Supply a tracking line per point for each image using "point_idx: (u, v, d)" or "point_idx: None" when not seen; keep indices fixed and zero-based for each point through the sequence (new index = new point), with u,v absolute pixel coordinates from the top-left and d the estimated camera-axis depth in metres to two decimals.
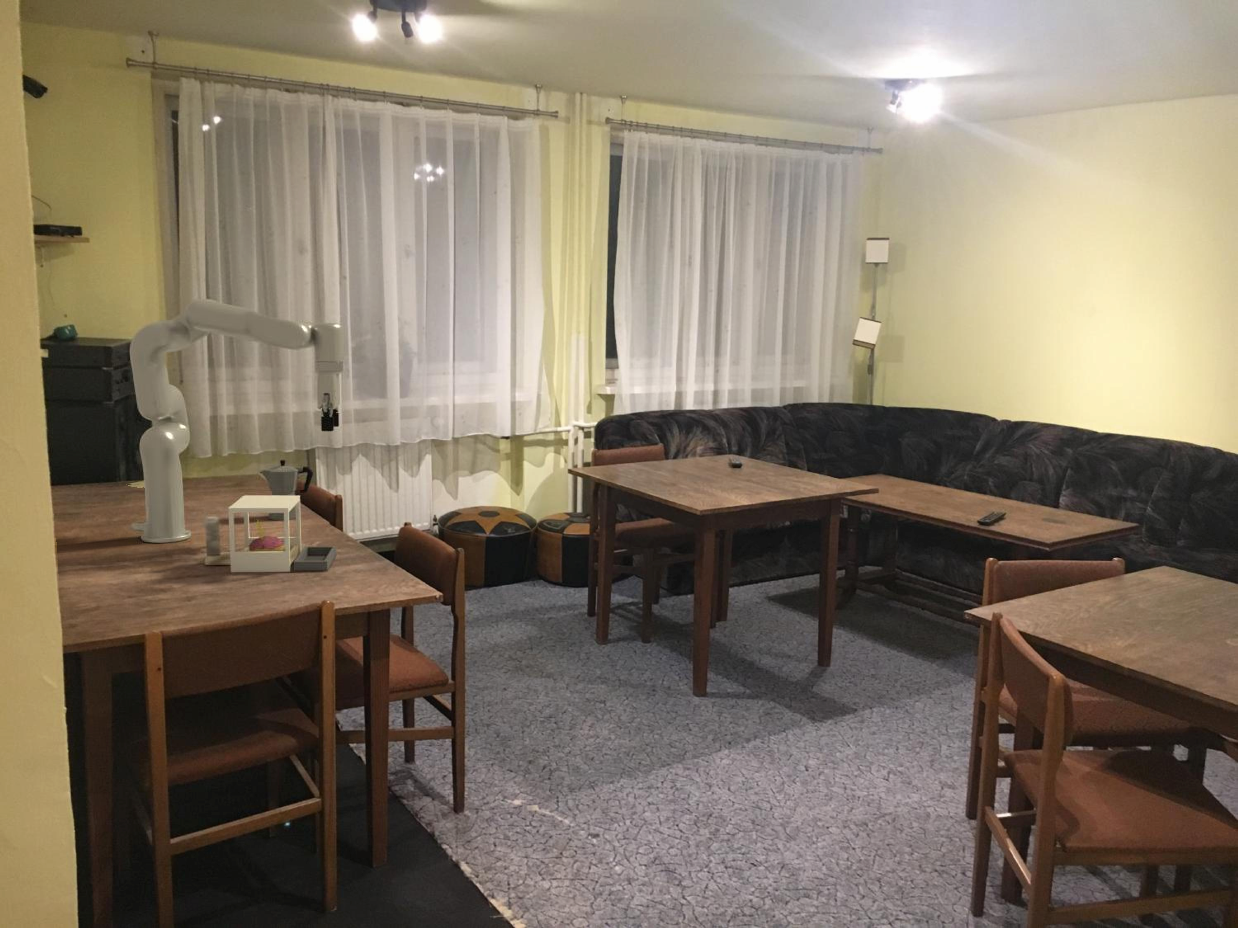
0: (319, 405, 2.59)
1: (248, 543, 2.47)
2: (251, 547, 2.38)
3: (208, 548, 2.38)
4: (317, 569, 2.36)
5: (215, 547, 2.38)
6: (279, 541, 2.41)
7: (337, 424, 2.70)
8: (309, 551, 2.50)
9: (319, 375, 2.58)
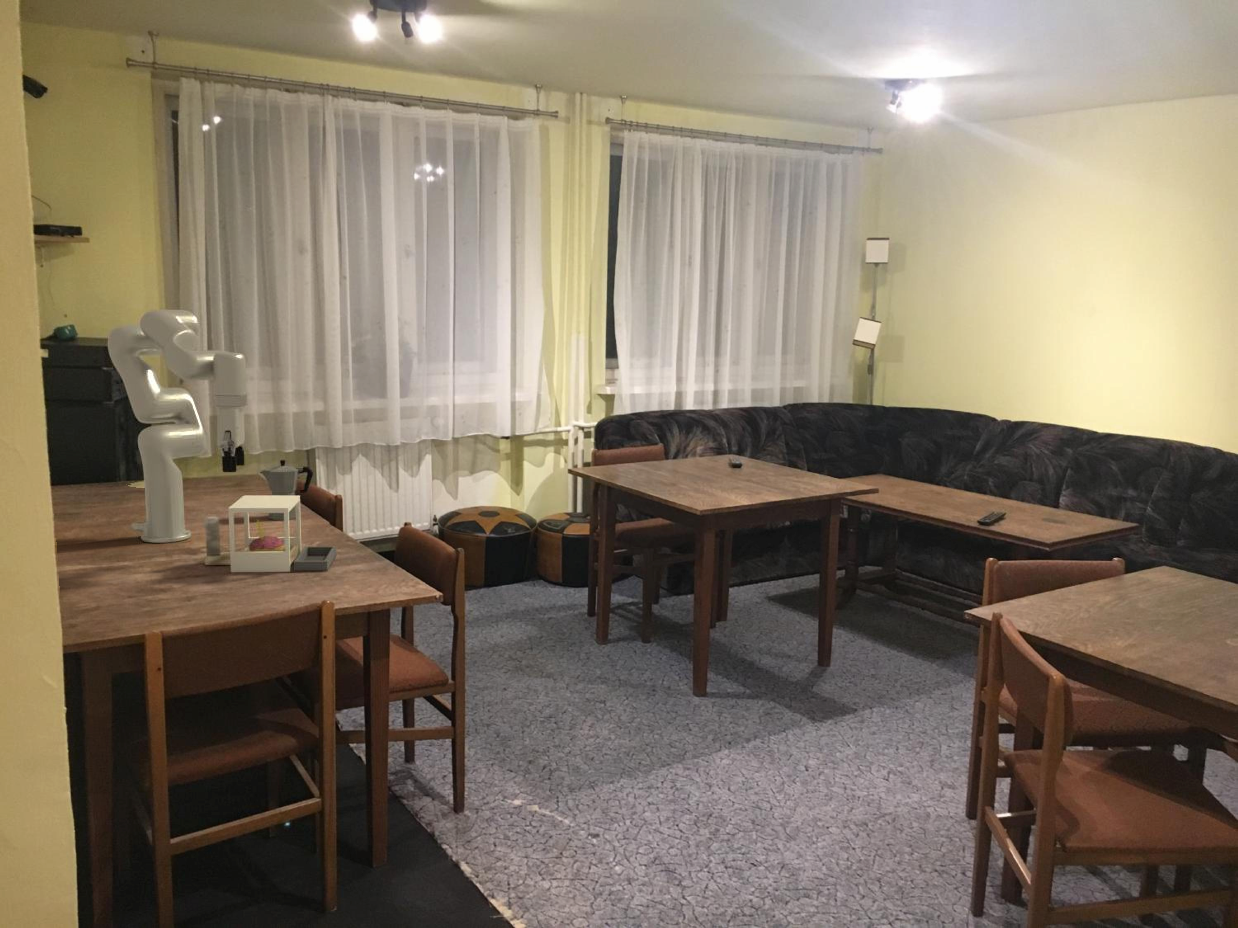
0: (220, 444, 2.35)
1: (248, 543, 2.47)
2: (251, 547, 2.38)
3: (208, 548, 2.38)
4: (317, 569, 2.36)
5: (215, 547, 2.38)
6: (279, 541, 2.41)
7: (242, 463, 2.46)
8: (309, 551, 2.50)
9: (219, 411, 2.34)
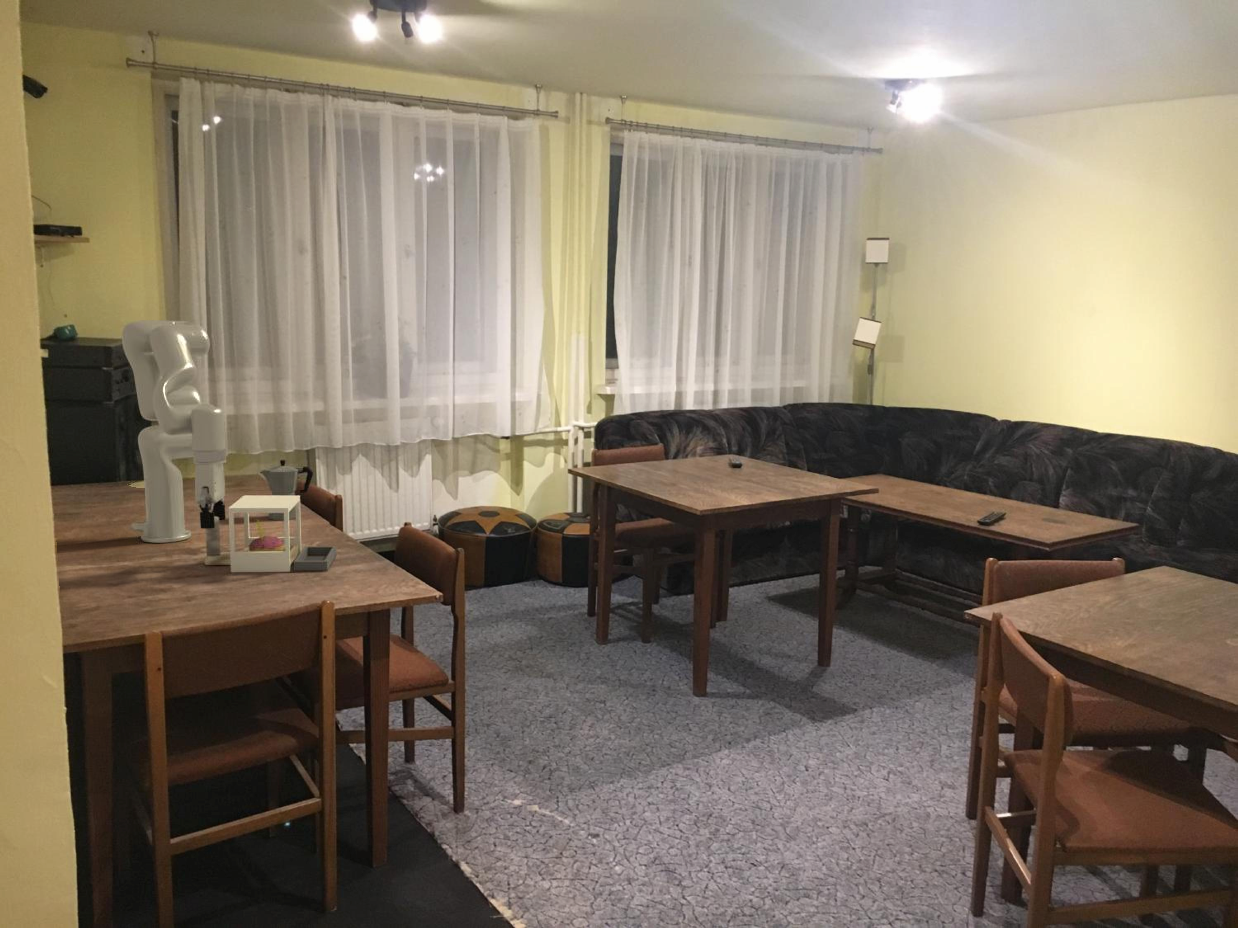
0: (197, 500, 2.32)
1: (248, 543, 2.47)
2: (251, 547, 2.38)
3: (208, 548, 2.38)
4: (317, 569, 2.36)
5: (215, 547, 2.38)
6: (279, 541, 2.41)
7: (223, 517, 2.42)
8: (309, 551, 2.50)
9: (197, 466, 2.31)
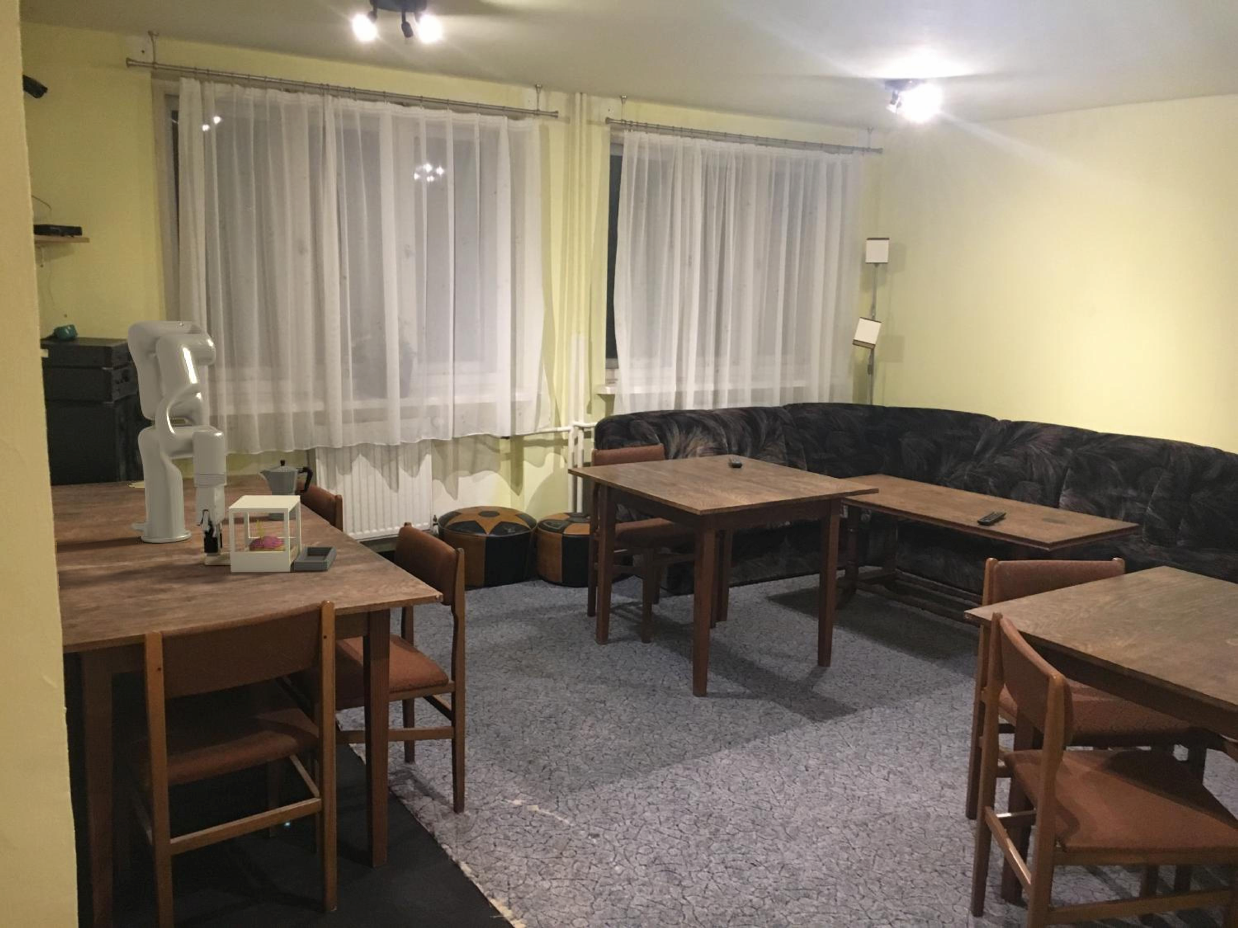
0: (198, 522, 2.33)
1: (248, 543, 2.47)
2: (251, 547, 2.38)
3: None
4: (317, 569, 2.36)
5: None
6: (279, 541, 2.41)
7: (220, 546, 2.41)
8: (309, 551, 2.50)
9: (197, 489, 2.32)
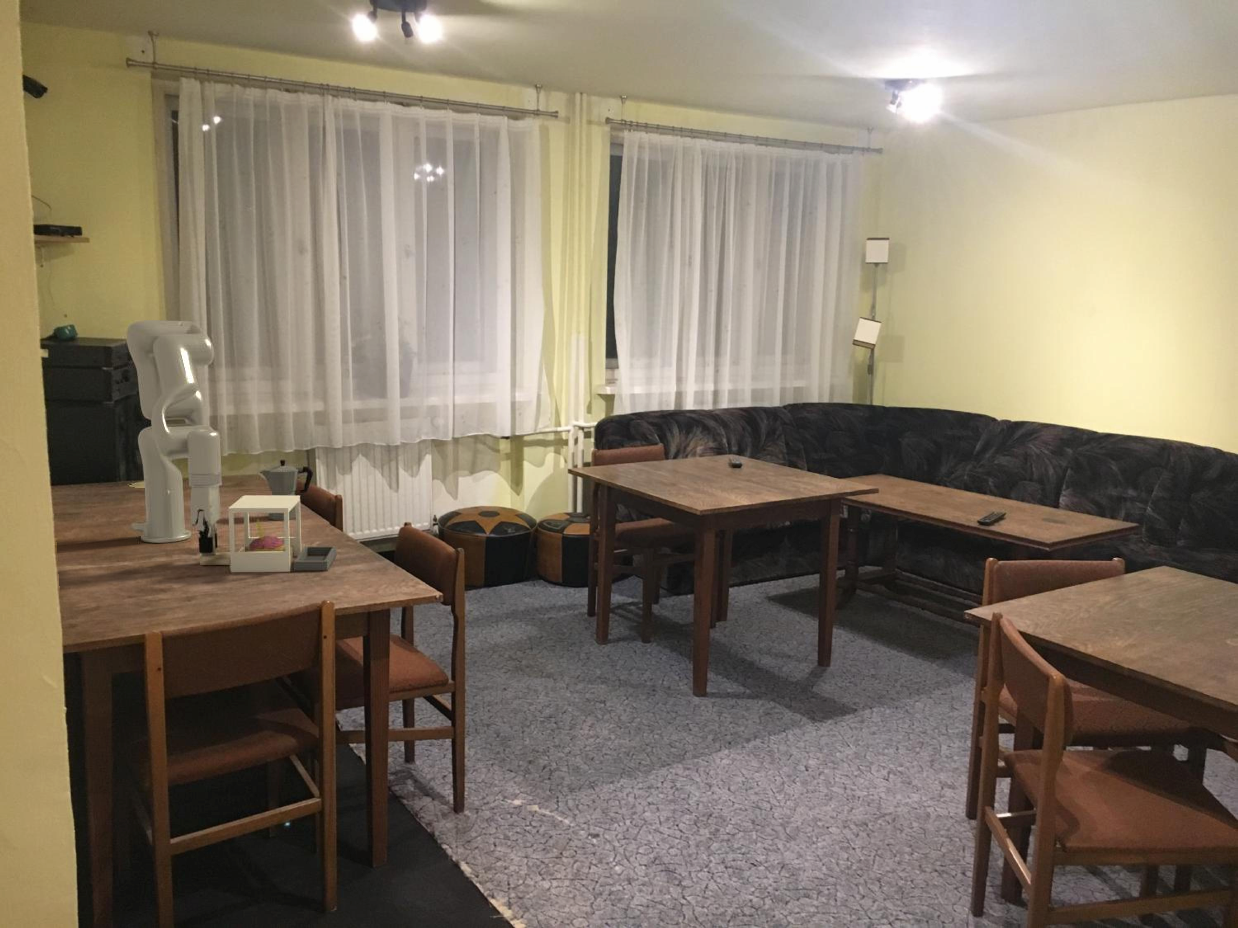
0: (192, 522, 2.33)
1: (248, 543, 2.47)
2: (251, 547, 2.38)
3: None
4: (317, 569, 2.36)
5: None
6: (279, 541, 2.41)
7: (215, 546, 2.41)
8: (309, 551, 2.50)
9: (192, 489, 2.32)
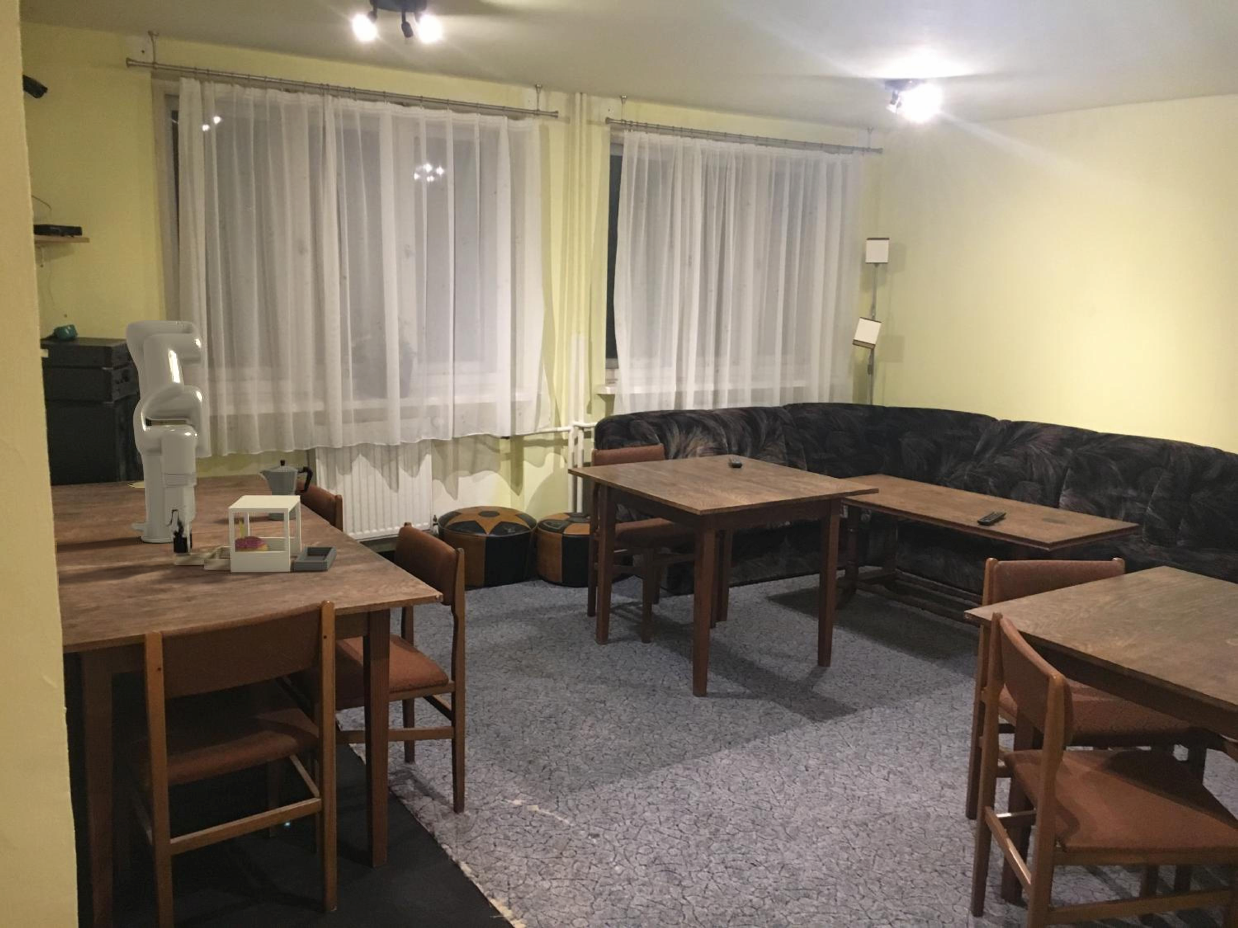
0: (167, 522, 2.32)
1: None
2: None
3: None
4: (317, 569, 2.36)
5: None
6: (261, 541, 2.40)
7: (190, 546, 2.40)
8: (309, 551, 2.50)
9: (166, 489, 2.31)
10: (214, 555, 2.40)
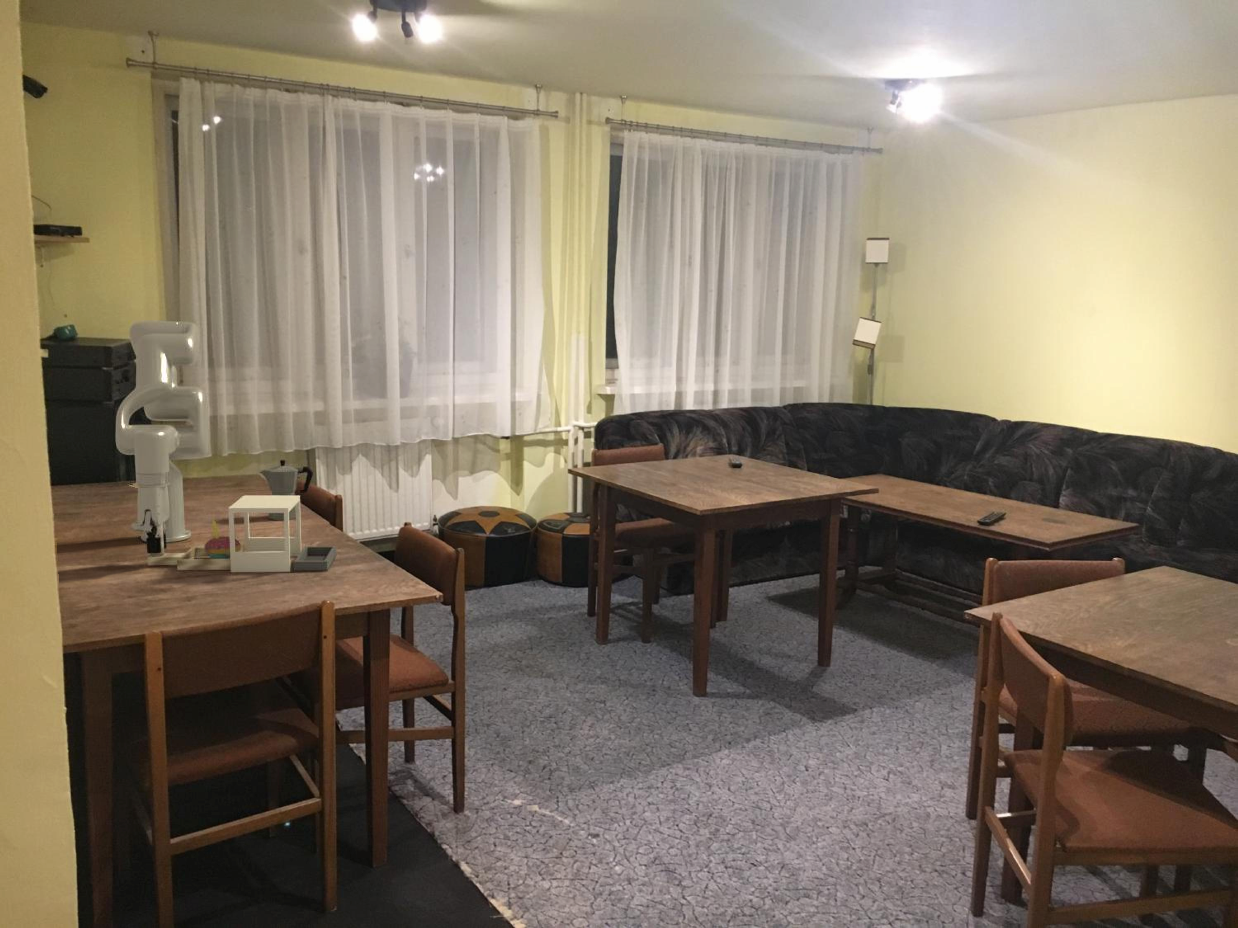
0: (139, 523, 2.31)
1: (248, 543, 2.47)
2: (207, 548, 2.36)
3: None
4: (317, 569, 2.36)
5: None
6: (235, 541, 2.39)
7: (164, 546, 2.39)
8: (309, 551, 2.50)
9: (139, 489, 2.30)
10: (188, 555, 2.39)
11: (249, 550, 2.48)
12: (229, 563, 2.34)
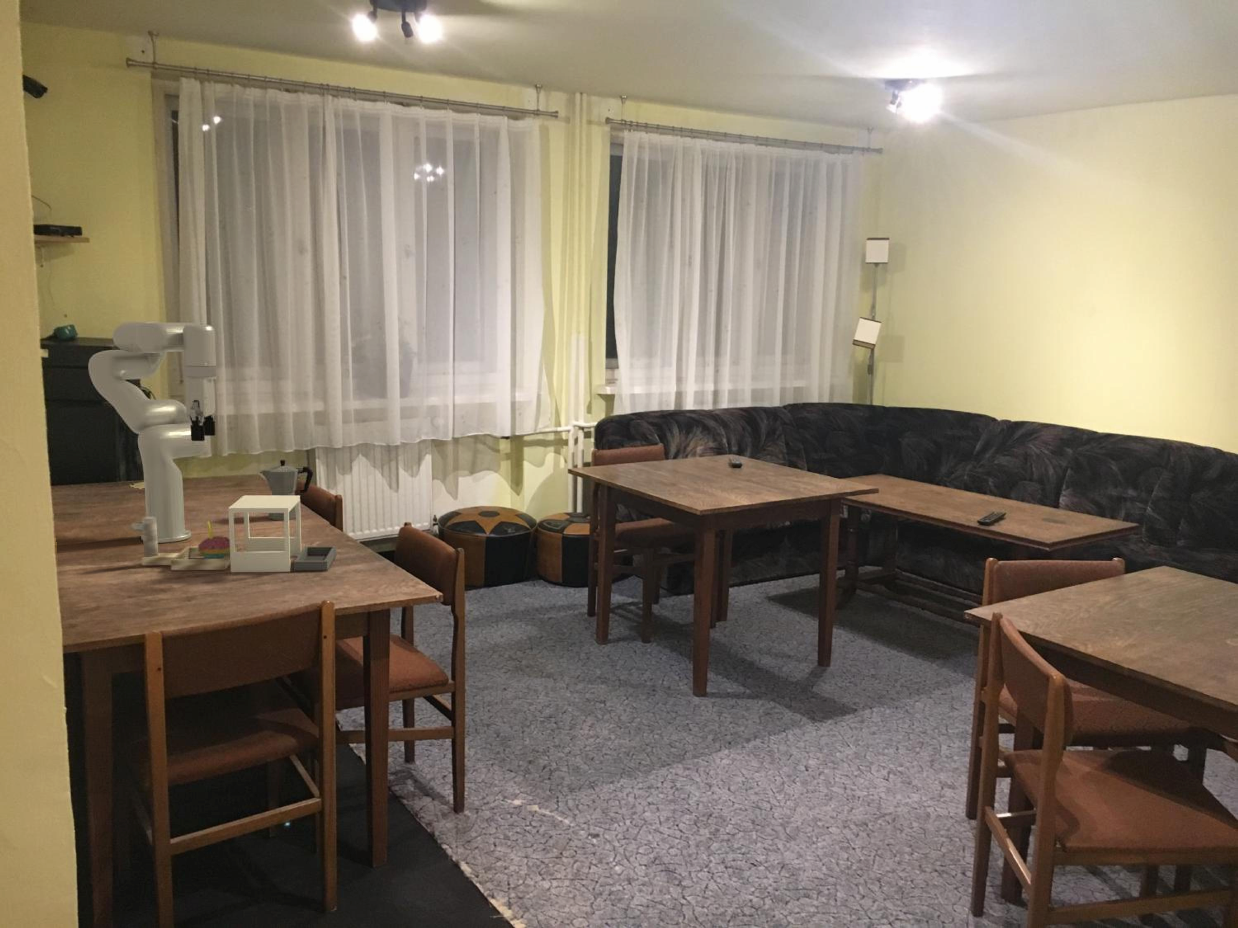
0: (188, 413, 2.41)
1: (248, 543, 2.47)
2: (201, 548, 2.36)
3: (145, 548, 2.36)
4: (317, 569, 2.36)
5: (152, 548, 2.36)
6: (229, 541, 2.39)
7: (213, 433, 2.52)
8: (309, 551, 2.50)
9: (188, 381, 2.41)
10: (182, 555, 2.38)
11: (249, 550, 2.48)
12: (223, 563, 2.34)
